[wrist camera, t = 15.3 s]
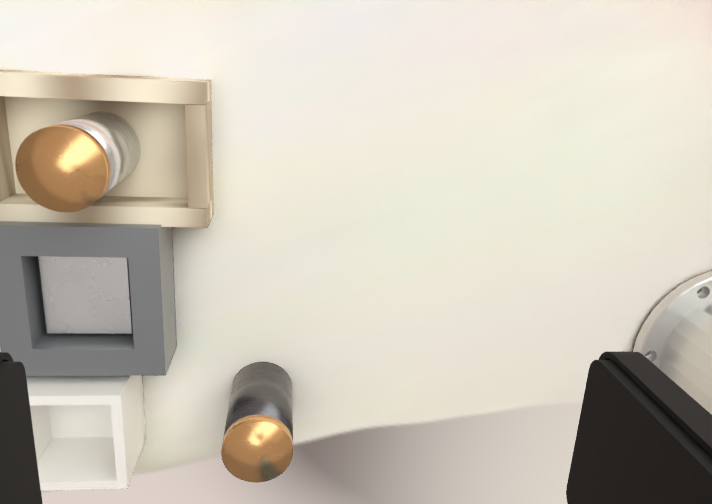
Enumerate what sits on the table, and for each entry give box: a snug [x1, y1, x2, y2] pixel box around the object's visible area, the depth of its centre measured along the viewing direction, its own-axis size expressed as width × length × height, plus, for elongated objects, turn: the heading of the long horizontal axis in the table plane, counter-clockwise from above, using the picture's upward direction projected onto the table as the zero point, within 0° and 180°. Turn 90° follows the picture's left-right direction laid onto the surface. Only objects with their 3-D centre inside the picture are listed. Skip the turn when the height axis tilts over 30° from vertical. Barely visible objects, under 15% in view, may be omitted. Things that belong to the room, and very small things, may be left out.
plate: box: [38, 256, 133, 334], centre depth 36 cm, size 5×5×1 cm
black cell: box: [221, 362, 293, 482], centre depth 38 cm, size 4×4×7 cm
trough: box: [0, 70, 213, 228], centre depth 34 cm, size 12×8×3 cm, turn 87°
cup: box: [26, 375, 146, 491], centre depth 38 cm, size 6×6×5 cm
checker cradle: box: [0, 221, 177, 376], centre depth 36 cm, size 9×9×4 cm
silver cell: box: [15, 111, 141, 213], centre depth 32 cm, size 4×4×7 cm
